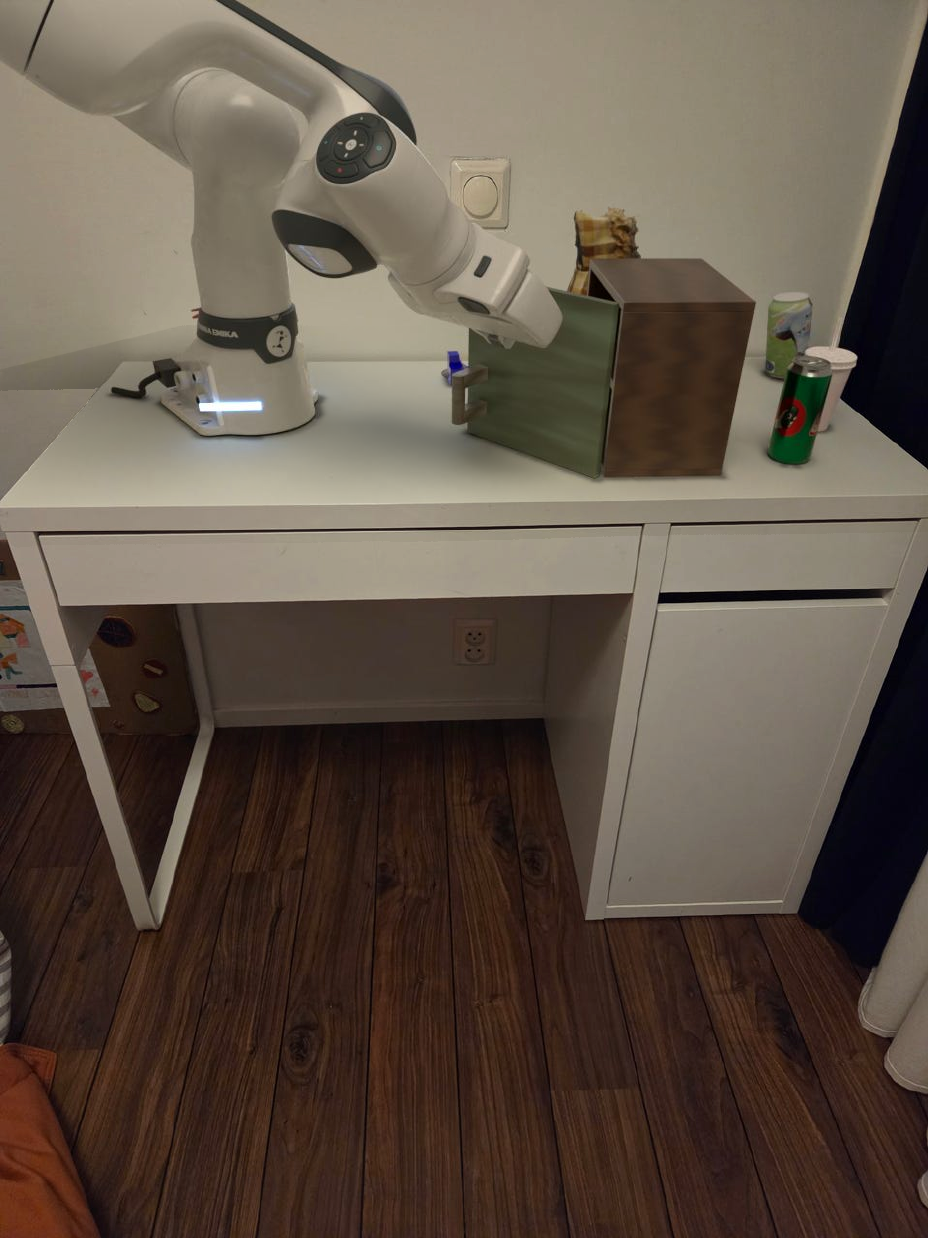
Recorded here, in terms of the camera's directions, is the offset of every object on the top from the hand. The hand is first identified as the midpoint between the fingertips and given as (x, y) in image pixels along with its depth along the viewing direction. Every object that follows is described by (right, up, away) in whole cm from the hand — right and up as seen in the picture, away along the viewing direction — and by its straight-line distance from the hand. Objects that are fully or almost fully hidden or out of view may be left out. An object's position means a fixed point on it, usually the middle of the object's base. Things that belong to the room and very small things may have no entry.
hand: (503, 341), depth 96 cm
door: (+2, -12, +8) cm, 14 cm away
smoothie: (+42, -6, +18) cm, 46 cm away
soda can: (+36, -12, +9) cm, 39 cm away
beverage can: (+44, +6, +34) cm, 56 cm away
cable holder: (-3, +4, +30) cm, 31 cm away
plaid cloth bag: (+13, +4, +31) cm, 34 cm away
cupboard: (+18, -9, +12) cm, 24 cm away
